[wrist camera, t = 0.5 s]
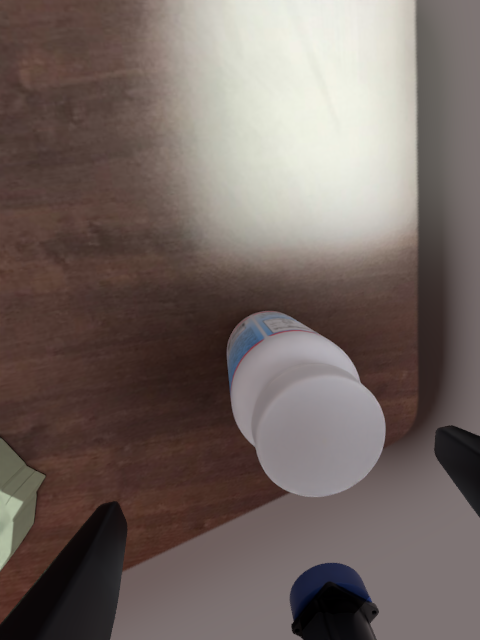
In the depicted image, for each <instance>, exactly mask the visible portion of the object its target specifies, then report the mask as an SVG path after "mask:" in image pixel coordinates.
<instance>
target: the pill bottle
mask: <svg viewBox="0 0 480 640" xmlns="http://www.w3.org/2000/svg"><path fill="white" fill-rule="evenodd" d="M227 365H228V375H229V385H230V396H231V405H232V410H233V415H234V418H235V421H236V423H237V425H238V427H239V429H240V431H241V432H242V434H243V435H244V436H245V438H246V439H247V440H248V441H249V442H250V443H251V444H252V445H253V446H255V448H256V452H257V456H258V459H259V461H260V464H261V466H262V468H263V469H264V471H265V473H266V474H267V475H268V476H269V478H270V479H271V480H272V481H273V482H274V483H275V484H277V485H278V486H279V487H281V488H282V489H284V490H286V491H288V492H291V493H294V494H297V495H301V496H306V497H323V496H328V495H332V494H336V493H339V492H342V491H344V490H346V489H348V488H350V487H352V486H353V485H355V484H356V483H357V482H359V481H360V480H361V479H363V478H364V477H365V476H366V475H367V474H368V473H369V471H370V470H371V469H372V468H373V466H374V465H375V463H376V462H377V460H378V458H379V456H380V454H381V452H382V448H383V445H384V441H385V419H384V415H383V412H382V409H381V407H380V405H379V403H378V401H377V400H376V398H375V397H374V395H373V394H372V393H371V392H370V391H369V390H368V389H367V388H366V387H365V386H364V385H362V384H361V382H360V379H359V375H358V373H357V370H356V368H355V366H354V365H353V363H352V361H351V360H350V358H349V357H348V356H347V355H346V353H345V352H344V351H343V350H342V349H341V348H340V347H338V346H337V345H336V344H334V343H333V342H332V341H330V340H329V339H327V338H325V337H323V336H322V335H320V334H318V333H317V332H315V331H313V330H312V329H310V328H308V327H307V326H305V325H303V324H302V323H300V322H298V321H297V320H295V319H293V318H292V317H290V316H288V315H286V314H283V313H280V312H276V311H262V312H258V313H254V314H252V315H250V316H248V317H246V318H245V319H243V320H242V321H241V322H240V323H239V324H238V325H237V326H236V327H235V329H234V330H233V332H232V333H231V335H230V338H229V340H228V345H227Z"/></svg>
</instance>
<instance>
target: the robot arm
mask: <svg viewBox="0 0 480 640" xmlns="http://www.w3.org/2000/svg"><path fill="white" fill-rule="evenodd" d="M434 451H435V455H436V457H437V459H438V461H439V462H440V464H441V465H442V466H443V468H444V469H445V470H446V472H447V473H448V475H449V476H450V477H451V479H452V480H453V482H454V483H455V484H456V486H457V487H458V489H459V490H460V491H461V493H462V494H463V495H464V497H465V498H466V500H467V501H468V502H469V504H470V505H471V506H472V508H473V509H474V511H475V512H476V513H477V514H478V516H479V517H480V436H478V435H475V434H473V433H471V432H468V431H466V430H463V429H460V428H458V427H455V426H445V427H441V428H438V429H437V430H436V435H435V448H434ZM126 537H127V522H126V519H125V517H124V515H123V512H122V510H121V508H120V505H119V503H118V502H116V501H113V502H109V503H104V504H102V505H100V506H99V507H98V508H97V509H96V510H95V511H94V513H93V514H92V515H91V516H90V517H89V519H88V520H87V521H86V522H85V523H84V525H83V526H82V527H81V528H80V529H79V531H78V532H77V533H76V534H75V535H74V537H73V538H72V539H71V540H70V541H69V543H68V544H67V545H66V546H65V547H64V549H63V550H62V551H61V552H60V553H59V555H58V556H57V557H56V558H55V559H54V561H53V562H52V563H51V564H50V565H49V567H48V568H47V569H46V570H45V571H44V573H43V574H42V575H41V576H40V577H39V579H38V580H37V581H36V582H35V583H34V585H33V586H32V587H31V588H30V589H29V591H28V592H27V593H26V594H25V595H24V597H23V598H22V599H21V600H20V601H19V603H18V604H17V605H16V606H15V607H14V609H13V610H12V611H11V612H10V613H9V615H8V616H7V617H6V618H5V619H4V621H3V622H2V623H1V624H0V640H110V637H111V632H112V628H113V623H114V619H115V614H116V608H117V603H118V597H119V590H120V582H121V575H122V567H123V560H124V552H125V545H126ZM378 613H379V611H378V608H377V606H376V605H375V604H374V603H372V602H370V601H368V600H366V599H364V598H362V597H360V596H358V595H357V594H355V593H353V592H351V591H349V590H347V589H345V588H343V587H341V586H339V585H337V584H335V583H334V582H331V581H328V582H326V583H325V584H324V585H323V587H322V588H321V589H320V590H319V592H318V593H317V594H316V595H315V596H314V598H313V599H312V600H311V601H310V602H309V604H308V605H307V606H306V607H305V608H304V610H303V611H302V612H301V613H300V614H299V616H298V617H297V618H296V619H295V620H294V622H293V623H292V624H291V628H292V632H293V634H295V635H297V636H299V637H301V638H304V640H377V639H376V637H375V634H374V632H373V630H372V628H371V625H370V623H371V621H372V620H373V619H374V618H375V617H376V616H377V615H378Z"/></svg>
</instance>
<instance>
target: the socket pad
mask: <svg viewBox="0 0 480 640" xmlns="http://www.w3.org/2000/svg"><path fill="white" fill-rule="evenodd" d="M45 477H46V476H45V475H44V474H42V473H40V472H38V471H35V470H34V469H32V468H30V467H28V466H26V464H25V462H24V461H23V460H22V459H21V458H20V457H19V456H18V455H17V454H16V453H15V452H14V451H13V450H12V449H11V448H10V447H9V446H8V444H7V443H6V442H5V441H4V440H3V439H2V438H1V437H0V571H1V570H2V568H3V567H4V566H5V564H6V563H7V562H8V560H9V559H10V558H11V556H12V555H13V554H14V552H15V551H16V550H17V548H18V547H19V545H20V544H21V542H22V541H23V539H24V538H25V536H26V534H27V533H28V531H29V530H30V528H31V527H32V525H33V524H34V517H35V507H36V498H37V494H36V491H37V490H38V488H39V486H40V485H41V483H42V482H43V480H44V479H45Z"/></svg>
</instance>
